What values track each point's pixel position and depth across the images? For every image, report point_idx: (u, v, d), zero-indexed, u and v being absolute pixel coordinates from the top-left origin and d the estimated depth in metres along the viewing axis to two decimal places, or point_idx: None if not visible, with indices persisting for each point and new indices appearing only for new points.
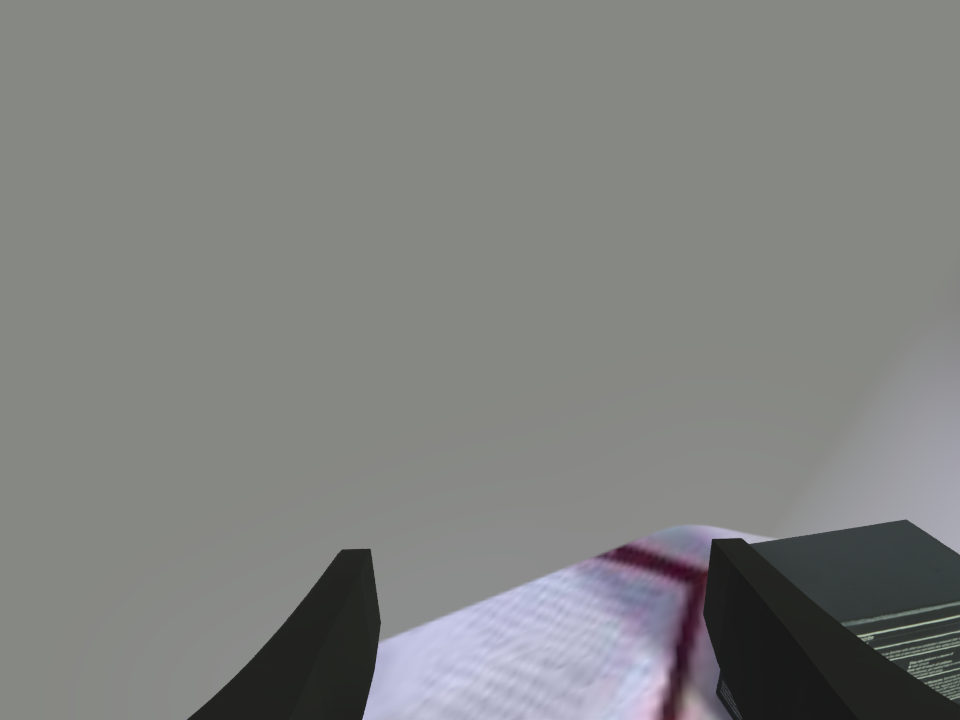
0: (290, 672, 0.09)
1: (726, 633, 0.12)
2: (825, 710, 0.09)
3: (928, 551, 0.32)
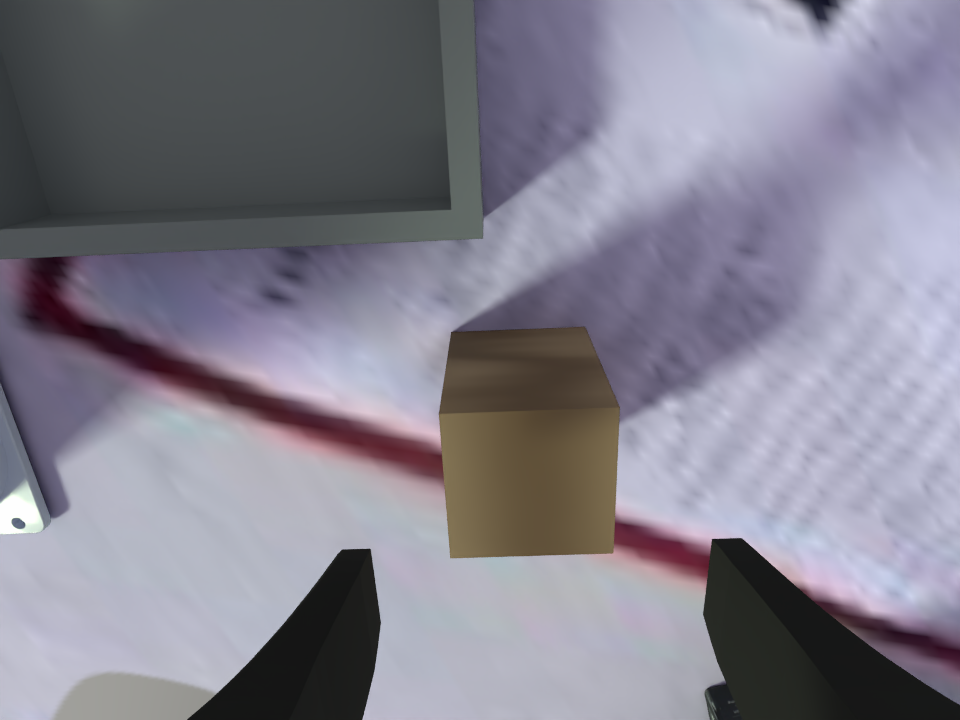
0: (289, 672, 0.09)
1: (726, 633, 0.12)
2: (825, 710, 0.09)
3: None
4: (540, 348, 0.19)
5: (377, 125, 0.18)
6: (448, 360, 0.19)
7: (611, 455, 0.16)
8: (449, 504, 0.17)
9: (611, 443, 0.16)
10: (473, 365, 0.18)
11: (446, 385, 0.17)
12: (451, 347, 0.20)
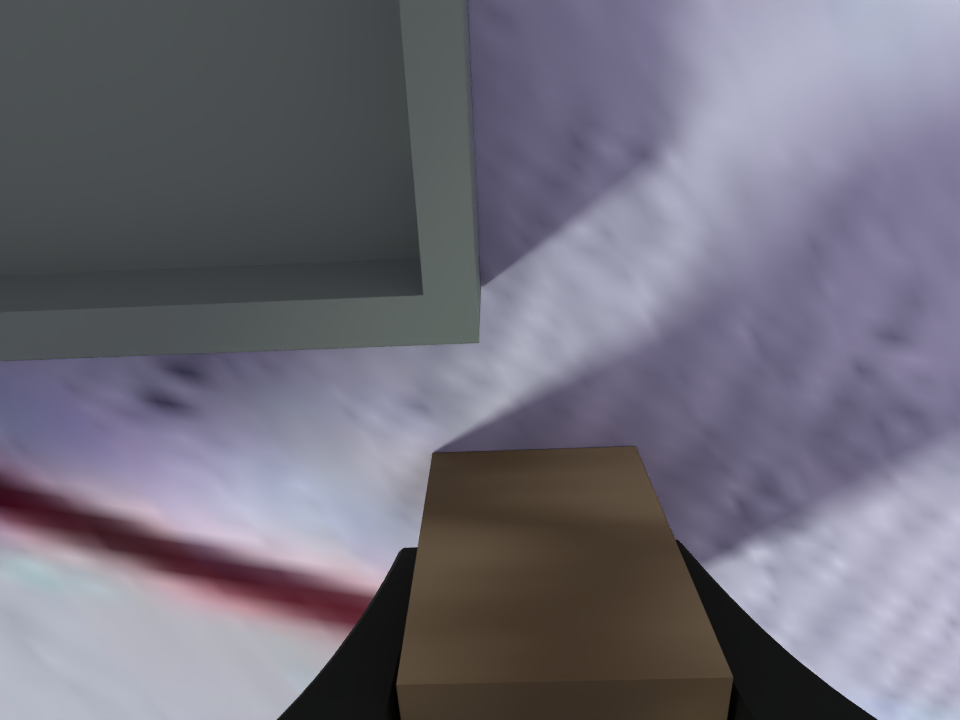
0: (374, 670, 0.09)
1: None
2: (733, 712, 0.09)
3: None
4: (571, 497, 0.12)
5: (304, 143, 0.11)
6: (423, 523, 0.12)
7: None
8: None
9: None
10: (464, 538, 0.11)
11: (416, 594, 0.10)
12: (430, 490, 0.13)
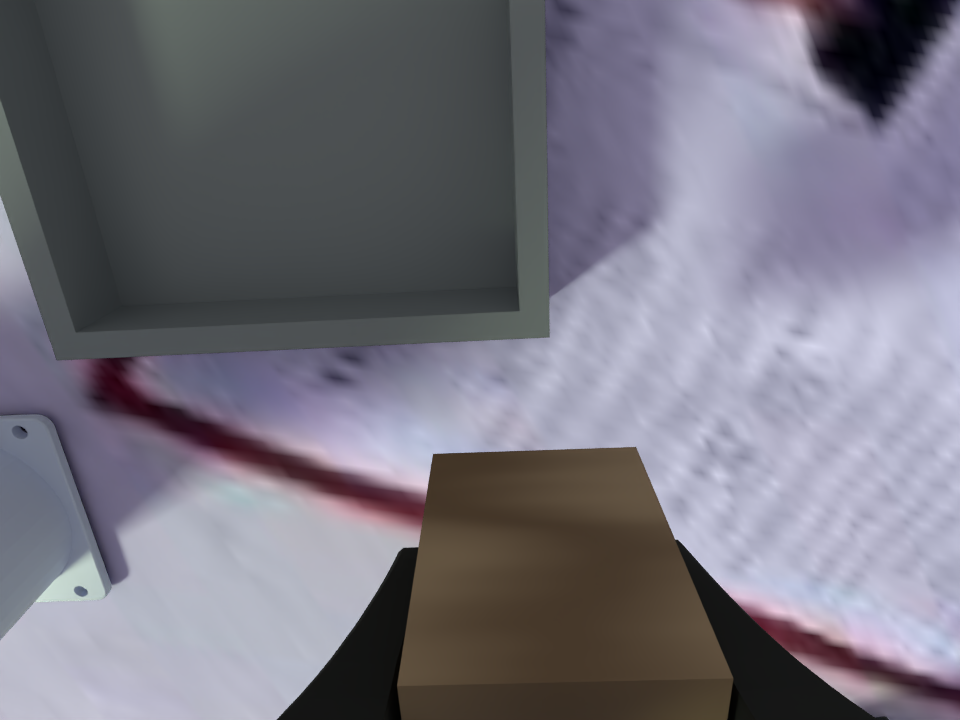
0: (374, 670, 0.09)
1: None
2: (733, 712, 0.09)
3: None
4: (571, 498, 0.12)
5: (441, 221, 0.19)
6: (424, 525, 0.12)
7: None
8: None
9: None
10: (464, 539, 0.11)
11: (416, 595, 0.10)
12: (431, 492, 0.13)
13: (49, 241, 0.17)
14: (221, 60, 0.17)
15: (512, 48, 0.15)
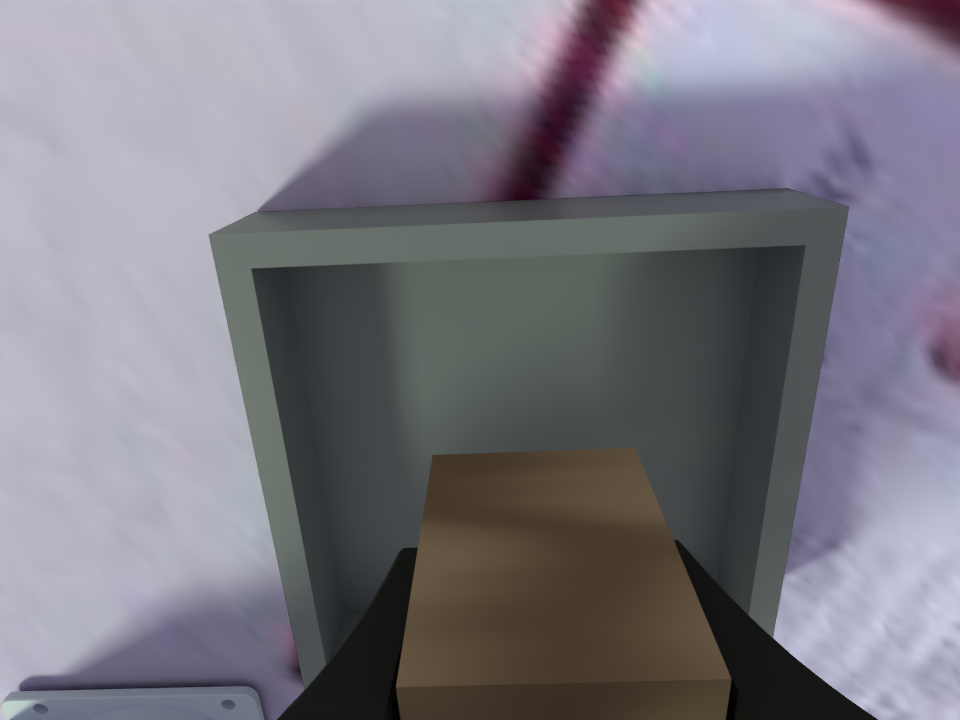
0: (374, 670, 0.09)
1: None
2: (733, 712, 0.09)
3: None
4: (571, 499, 0.12)
5: None
6: (423, 525, 0.12)
7: None
8: None
9: None
10: (464, 540, 0.11)
11: (415, 596, 0.10)
12: (430, 492, 0.13)
13: (315, 601, 0.18)
14: (470, 430, 0.18)
15: (771, 474, 0.16)
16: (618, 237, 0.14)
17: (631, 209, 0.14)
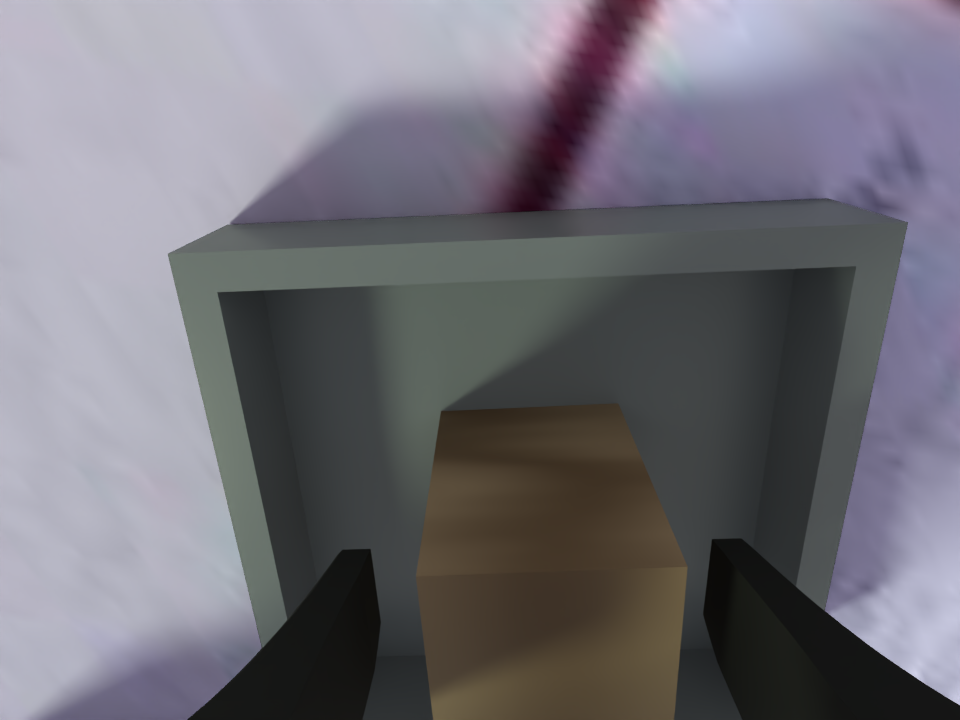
0: (289, 672, 0.09)
1: (725, 633, 0.12)
2: (825, 710, 0.09)
3: None
4: (561, 443, 0.14)
5: None
6: (434, 464, 0.14)
7: (673, 630, 0.11)
8: (434, 692, 0.12)
9: (673, 614, 0.11)
10: (470, 474, 0.13)
11: (429, 514, 0.12)
12: (440, 439, 0.15)
13: None
14: None
15: (809, 522, 0.14)
16: (640, 257, 0.12)
17: (654, 224, 0.13)
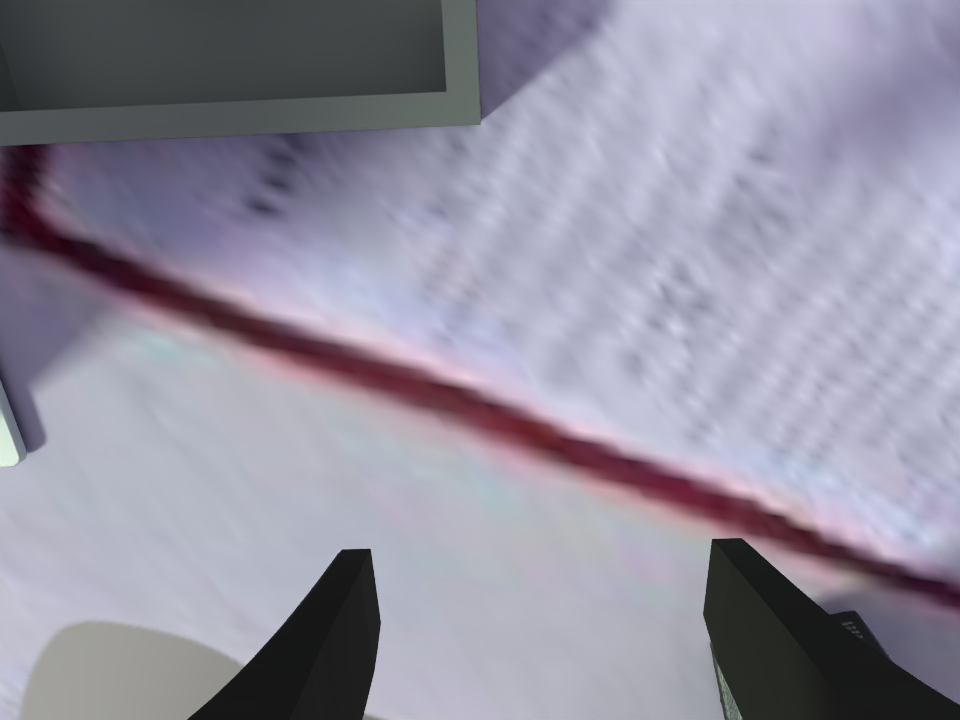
0: (289, 672, 0.09)
1: (726, 633, 0.12)
2: (825, 710, 0.09)
3: None
4: None
5: (368, 11, 0.17)
6: None
7: None
8: None
9: None
10: None
11: None
12: None
13: None
14: None
15: None
16: None
17: None
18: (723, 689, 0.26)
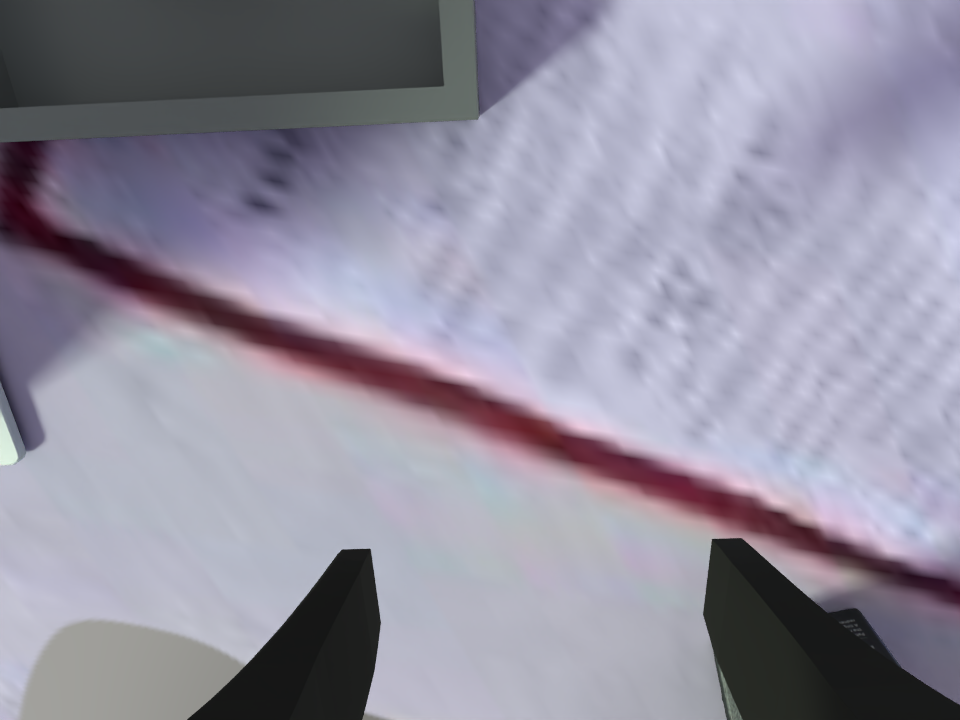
0: (289, 672, 0.09)
1: (726, 633, 0.12)
2: (825, 710, 0.09)
3: None
4: None
5: (365, 6, 0.17)
6: None
7: None
8: None
9: None
10: None
11: None
12: None
13: None
14: None
15: None
16: None
17: None
18: (725, 687, 0.26)
